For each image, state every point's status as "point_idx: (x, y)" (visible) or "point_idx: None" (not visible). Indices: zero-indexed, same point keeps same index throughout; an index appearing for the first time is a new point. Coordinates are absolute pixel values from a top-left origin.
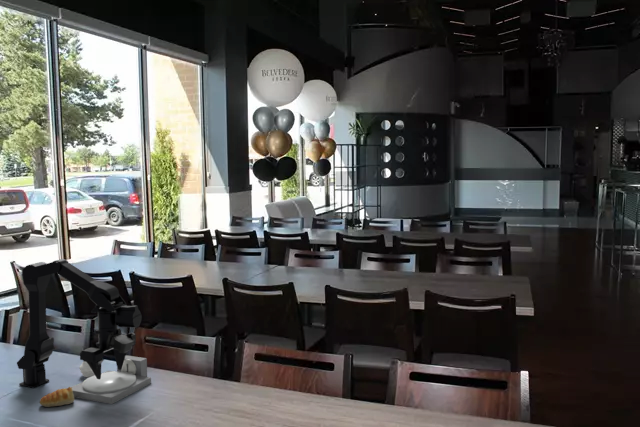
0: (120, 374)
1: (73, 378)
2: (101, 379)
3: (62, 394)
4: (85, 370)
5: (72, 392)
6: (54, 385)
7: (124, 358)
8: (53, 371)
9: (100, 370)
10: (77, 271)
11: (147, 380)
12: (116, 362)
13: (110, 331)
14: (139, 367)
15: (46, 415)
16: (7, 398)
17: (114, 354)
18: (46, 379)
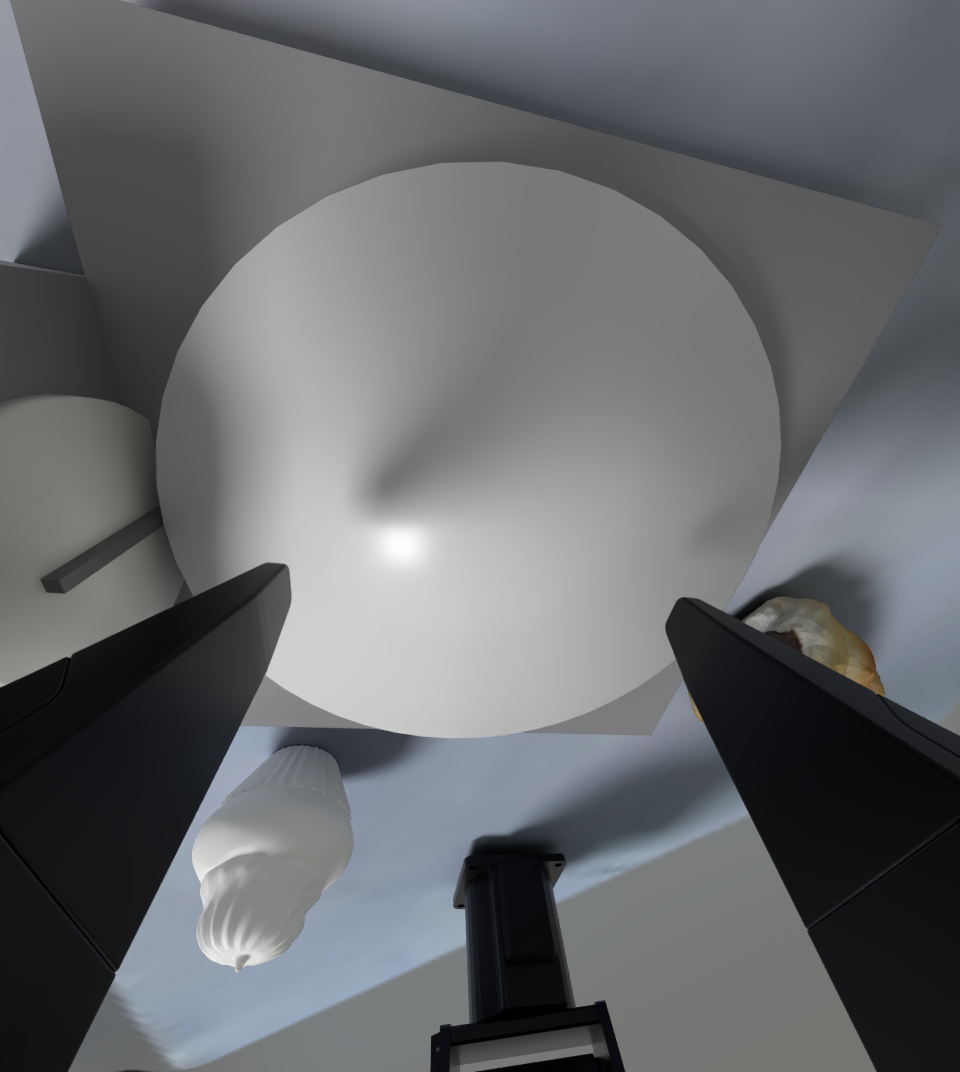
0: (279, 548)
1: (368, 806)
2: (484, 635)
3: (868, 688)
4: (347, 826)
5: (833, 655)
6: (491, 813)
7: (50, 668)
8: (324, 901)
9: (815, 679)
10: None
11: (146, 22)
12: (242, 711)
13: None
14: None
15: (935, 616)
16: (664, 849)
17: (135, 933)
18: (468, 872)
